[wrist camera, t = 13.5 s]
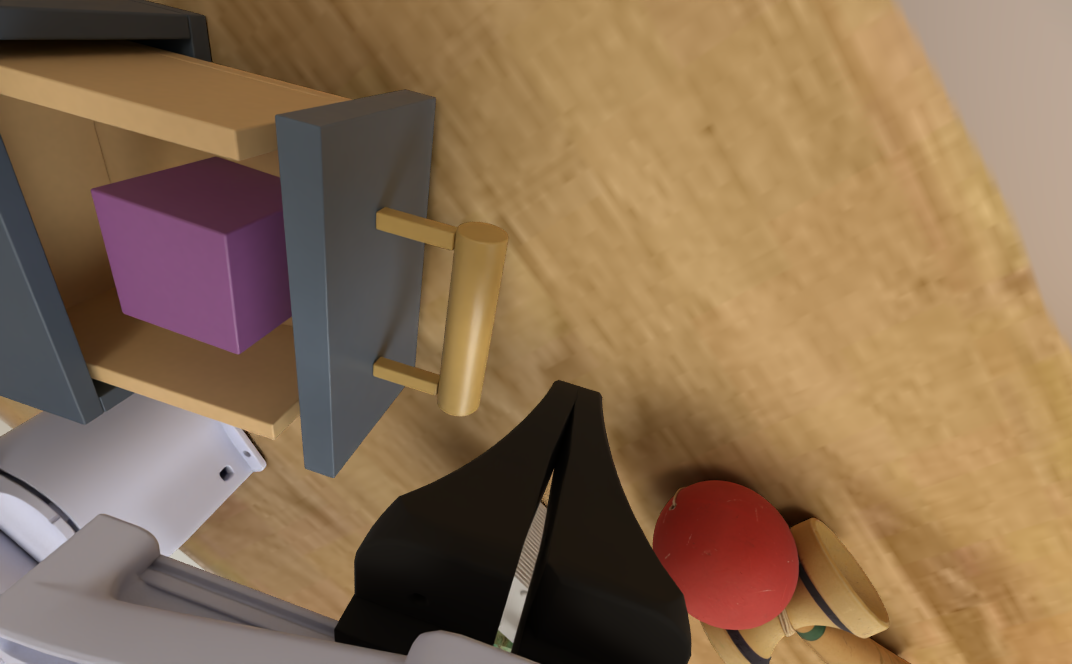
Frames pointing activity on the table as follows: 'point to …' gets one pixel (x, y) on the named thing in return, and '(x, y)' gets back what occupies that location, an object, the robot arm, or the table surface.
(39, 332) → the cabinet
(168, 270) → the block
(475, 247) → the drawer
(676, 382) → the table surface
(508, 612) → the padlock
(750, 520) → the kendama
